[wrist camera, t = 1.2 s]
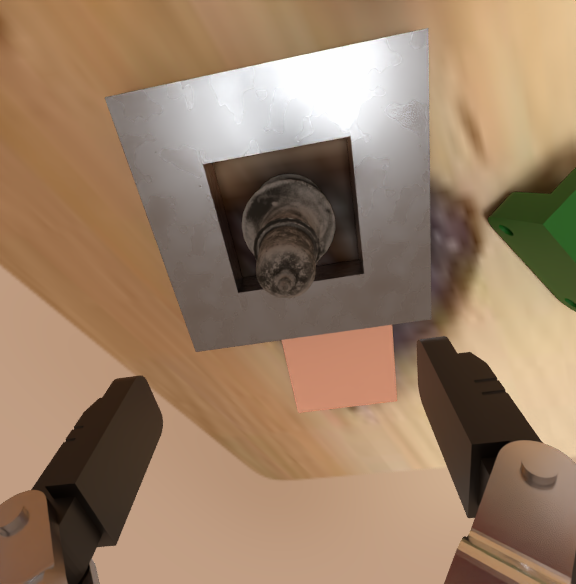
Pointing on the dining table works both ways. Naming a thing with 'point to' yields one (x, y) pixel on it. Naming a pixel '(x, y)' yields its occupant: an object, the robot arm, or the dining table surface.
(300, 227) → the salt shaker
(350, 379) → the tile
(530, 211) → the clamp
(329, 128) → the grey square frame
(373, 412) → the dining table surface
